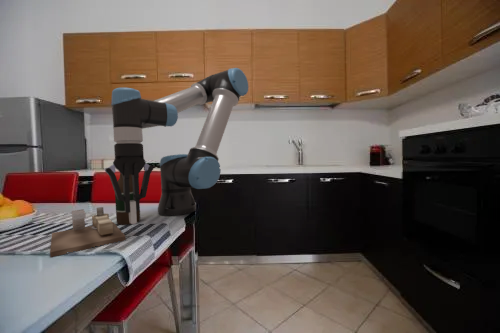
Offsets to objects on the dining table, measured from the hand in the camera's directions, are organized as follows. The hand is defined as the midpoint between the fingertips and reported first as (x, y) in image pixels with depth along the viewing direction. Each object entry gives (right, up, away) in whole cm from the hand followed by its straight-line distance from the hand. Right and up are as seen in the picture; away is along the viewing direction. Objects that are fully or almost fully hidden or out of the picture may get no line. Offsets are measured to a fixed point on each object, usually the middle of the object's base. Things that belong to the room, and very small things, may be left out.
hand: (133, 222), depth 70 cm
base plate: (-12, -4, -2) cm, 13 cm away
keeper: (-14, -3, +3) cm, 15 cm away
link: (-9, -2, +1) cm, 9 cm away
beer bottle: (-8, -3, +14) cm, 17 cm away
